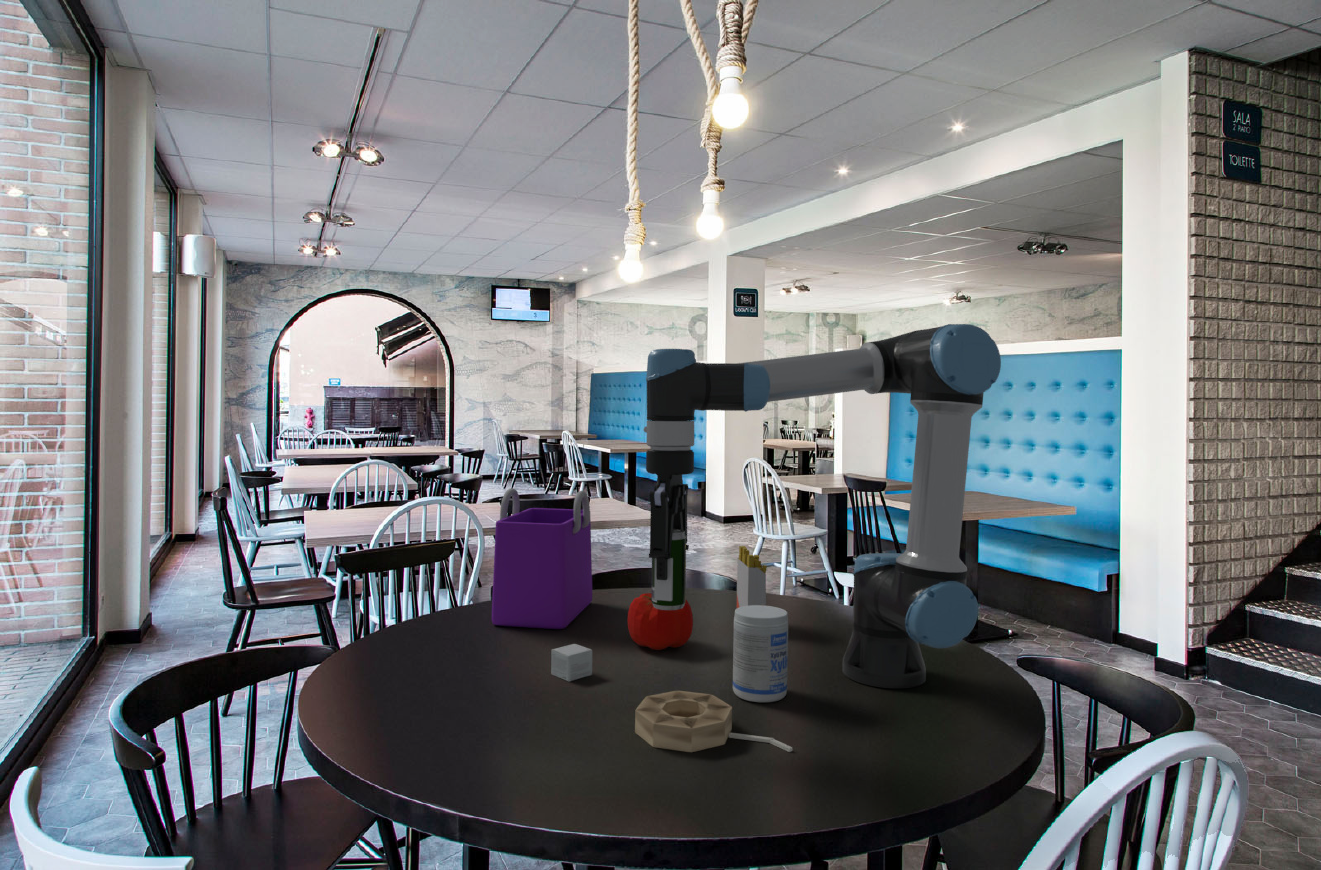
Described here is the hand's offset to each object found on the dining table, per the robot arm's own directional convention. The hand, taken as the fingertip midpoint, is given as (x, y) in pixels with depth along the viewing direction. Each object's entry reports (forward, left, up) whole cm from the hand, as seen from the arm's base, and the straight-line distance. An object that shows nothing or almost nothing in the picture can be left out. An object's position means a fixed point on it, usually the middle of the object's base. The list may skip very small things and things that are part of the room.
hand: (669, 594), depth 122 cm
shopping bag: (+45, -53, -21) cm, 72 cm away
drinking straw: (-15, +3, -21) cm, 26 cm away
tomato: (+12, -38, -21) cm, 45 cm away
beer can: (0, 0, -2) cm, 2 cm away
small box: (+23, -16, -21) cm, 35 cm away
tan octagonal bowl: (-3, +2, -20) cm, 21 cm away
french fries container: (-4, -58, -21) cm, 62 cm away
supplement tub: (-12, -17, -21) cm, 29 cm away
